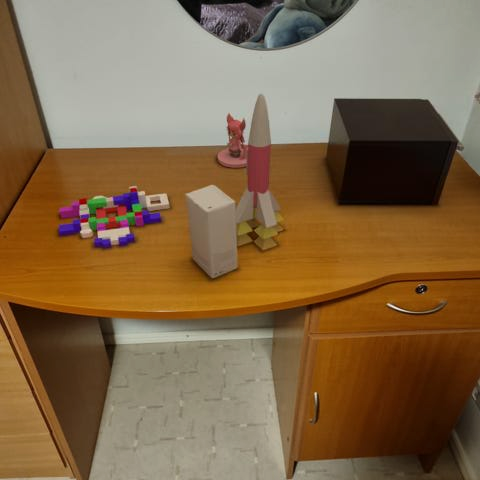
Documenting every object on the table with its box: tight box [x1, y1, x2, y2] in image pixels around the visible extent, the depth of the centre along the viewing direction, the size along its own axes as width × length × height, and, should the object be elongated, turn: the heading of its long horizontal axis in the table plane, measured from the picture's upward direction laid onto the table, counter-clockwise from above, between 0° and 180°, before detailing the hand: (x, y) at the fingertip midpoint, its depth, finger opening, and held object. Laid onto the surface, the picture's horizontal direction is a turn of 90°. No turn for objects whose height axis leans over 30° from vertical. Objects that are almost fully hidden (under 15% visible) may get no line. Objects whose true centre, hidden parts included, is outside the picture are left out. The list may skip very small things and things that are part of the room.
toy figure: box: [217, 113, 248, 169], centre depth 128 cm, size 10×10×12 cm
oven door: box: [421, 98, 465, 206], centre depth 118 cm, size 5×24×16 cm, turn 0°
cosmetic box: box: [184, 184, 239, 279], centre depth 94 cm, size 8×7×16 cm
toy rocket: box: [235, 92, 285, 251], centre depth 96 cm, size 12×12×30 cm
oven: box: [325, 97, 451, 206], centre depth 118 cm, size 22×24×16 cm
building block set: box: [58, 185, 171, 249], centre depth 109 cm, size 25×20×4 cm
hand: (477, 100), depth 111 cm, fingers closed
